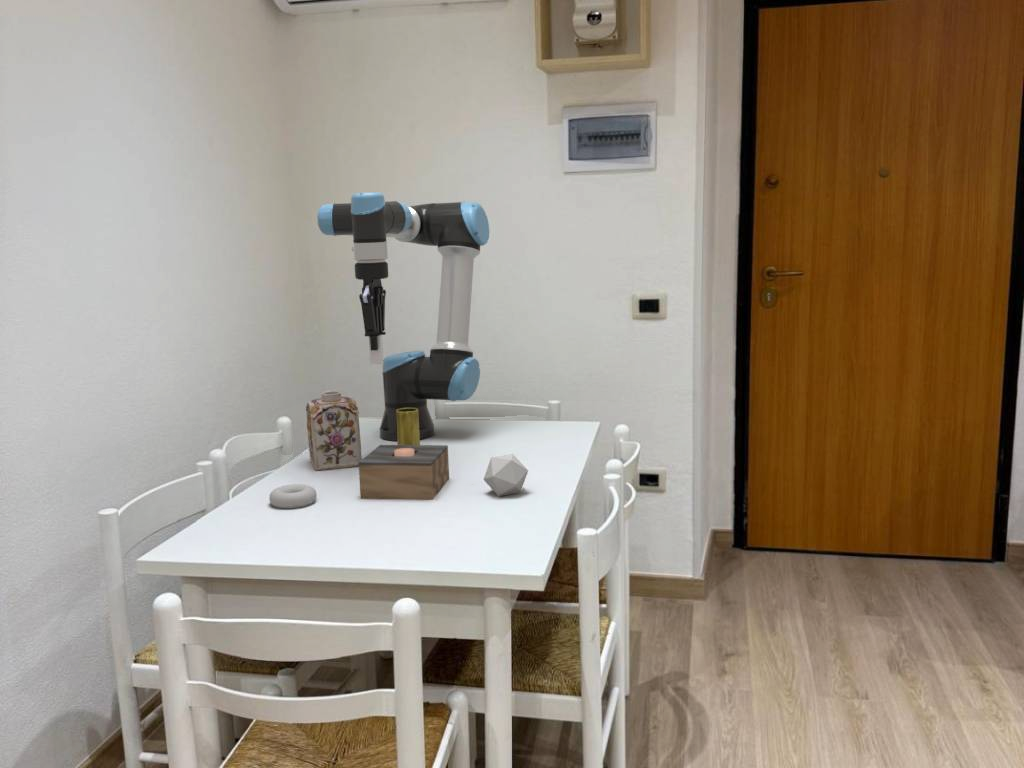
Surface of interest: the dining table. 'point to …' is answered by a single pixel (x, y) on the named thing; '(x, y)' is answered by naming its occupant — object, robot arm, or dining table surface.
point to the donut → (292, 496)
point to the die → (505, 475)
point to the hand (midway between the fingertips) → (376, 363)
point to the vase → (408, 426)
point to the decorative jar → (333, 431)
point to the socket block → (404, 472)
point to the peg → (404, 452)
